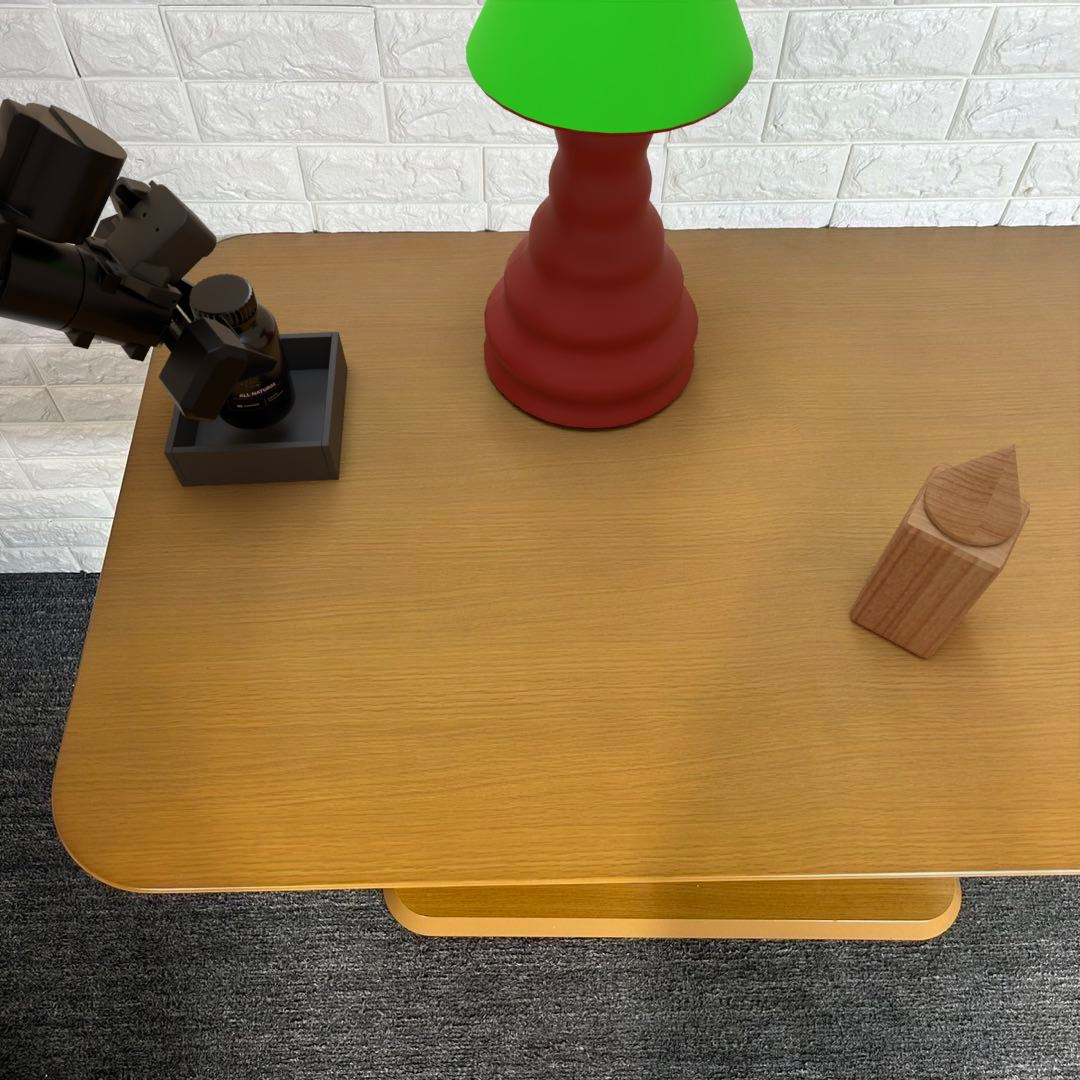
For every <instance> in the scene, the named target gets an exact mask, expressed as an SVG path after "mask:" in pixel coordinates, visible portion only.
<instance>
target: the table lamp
mask: <svg viewBox="0 0 1080 1080" xmlns="http://www.w3.org/2000/svg"><path fill="white" fill-rule="evenodd" d="M752 48H753V47H752V45H751V42H750V39H749V37H748V34H747V31H746V27H745V25H744V21H743V18H742V15H741V13H740V9H739V7H738V3H737V0H485V2H484V4H483V6H482V8H481V10H480V12H479V14H478V17H477V19H476V20H475V22H474V24H473V27H472V29H471V31H470V33H469V36H468V39H467V41H466V45H465V55H466V56H465V61H466V64H467V67H468V70H469V73H470V74H471V77H472V78H473V80H474V82H475V83H476V84H477V85H478V87H479V88H480V89H481V90H482V92H483V93H484V94H485V95H486V97H487V98H489V99H490V100H491V101H493V102H494V103H496V104H497V105H498V106H499V107H501V108H502V109H503V110H506V111H507V112H509V113H511V114H513V115H515V116H517V117H518V118H521V119H523V120H525V121H527V122H530V123H533V124H535V125H536V124H537V125H539V126H542V127H545V128H548V129H551V130H553V131H554V136H555V139H556V143H557V151H556V153H555V156H554V158H553V160H552V163H551V166H550V169H549V174H548V182H547V184H548V195H547V196H546V198H544V200H543V201H542V202H541V203H540V204H539V205H538V207H537V208H536V210H535V211H534V213H533V215H532V217H531V219H530V224H529V229H528V233H527V234H526V235H524V237H523V238H522V239H521V240H520V241H519V242H518V243H517V245H515V246H514V248H513V249H512V251H511V253H510V254H509V256H508V258H507V260H506V264H505V267H504V273H503V275H502V276H501V278H500V279H499V280H498V281H497V282H496V283H495V285H494V287H493V289H492V290H491V292H490V294H489V296H488V297H487V300H486V304H485V308H484V313H483V318H484V331H485V337H484V342H483V356H484V357H483V360H484V364H485V367H486V370H487V373H488V376H489V377H490V379H491V380H492V382H493V384H494V385H495V387H496V388H497V389H498V390H499V392H501V393H502V394H503V395H504V396H505V397H506V398H507V399H508V400H509V401H510V402H511V403H512V404H514V405H516V406H517V407H519V408H520V409H521V410H523V411H524V412H526V413H528V414H530V415H532V416H534V417H536V418H539V419H540V420H543V421H546V422H548V423H551V424H552V423H553V424H557V425H561V426H565V427H574V428H583V429H584V428H585V429H594V428H595V429H599V428H613V427H618V426H626V425H630V424H632V423H635V422H638V421H641V420H643V419H647V418H648V417H651V416H653V415H654V414H655V413H657V412H659V411H660V410H662V409H664V408H665V407H667V406H668V405H669V404H670V403H671V402H672V401H674V400H675V399H676V398H677V397H678V396H679V395H681V393H682V391H683V390H684V388H685V387H686V386H687V384H688V382H689V381H690V379H691V376H692V372H693V370H694V367H695V347H694V346H695V343H696V341H697V337H698V335H699V333H698V332H699V315H698V310H697V307H696V304H695V302H694V300H693V298H692V296H691V294H690V292H689V291H688V289H687V287H686V285H685V284H684V283H685V276H684V272H683V268H682V264H681V263H680V261H679V258H678V257H677V255H676V253H675V252H674V250H673V248H671V246H670V244H668V243H667V241H665V239H666V233H665V232H666V231H665V227H664V222H663V220H662V218H661V215H660V213H659V212H658V209H657V208H656V207H655V205H654V204H653V202H652V201H651V200H650V199H651V194H652V187H653V174H652V170H651V164H650V162H649V159H648V149H649V146H650V144H651V141H652V140H653V137H654V135H655V134H656V135H657V134H661V133H668V132H671V131H676V130H678V129H682V128H685V127H688V126H692V125H695V124H697V123H699V122H702V121H704V120H705V119H708V118H710V117H712V116H714V115H716V114H717V113H720V111H722V110H724V108H726V107H727V106H729V105H730V104H732V102H733V101H734V100H735V99H736V98H737V97H738V96H739V94H741V91H743V89H744V88H745V87H746V86H747V84H748V83H749V80H750V77H751V74H752V72H753V69H754V52H753V49H752Z"/></svg>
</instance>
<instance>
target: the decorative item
mask: <svg viewBox="0 0 1080 1080" xmlns="http://www.w3.org/2000/svg"><path fill="white" fill-rule="evenodd" d="M1016 451H1017V450H1016V443H1012V444H1010V445H1007V446H1004V447H1002V448H1000V449H997V450H994V451H991V452H989V453H985V454H983V455H981V456H978V457H976V458H975V457H974V458H973V459H970V460H967V461H965V462H963V463H960V464H956V465H954V466H953V465H951V464H949V463H947V462H940V463H938V464H937V465H936V466H934V467H933V468H932V469H931V471H930V472H929V474H928V476H927V478H926V479H925V480H924V483H923V484H922V486H921V487H920V489H919V490H918V492H917V494H916V496H915V497H914V499H913V501H912V503H911V504H910V506H909V507H908V509H907V510H906V513H905V515H904V516H903V518H902V519H901V521H900V523H899V524H898V526H897V528H896V529H895V531H894V533H893V534H892V536H891V538H890V539H889V542H888V543H887V545H886V546H885V548H884V550H883V552H882V553H881V555H880V556H879V558H878V560H877V562H876V564H875V565H874V567H873V569H872V571H871V572H870V574H869V576H868V577H867V579H866V581H865V583H864V585H863V587H862V588H861V590H860V591H859V593H858V595H857V597H856V599H855V600H854V602H853V604H852V606H851V608H850V611H849V612H850V613H849V615H850V618H851V620H852V621H854V622H855V623H856V624H859V625H860V626H862V627H864V628H866V629H868V630H870V631H872V632H874V633H875V634H877V635H879V636H881V637H883V638H885V639H887V640H888V641H891V642H892V643H894V644H896V645H898V646H900V647H902V648H903V649H905V650H907V651H910V652H911V653H913V654H915V655H917V656H919V657H920V658H925V659H927V658H930V657H931V656H933V655H935V653H936V651H938V649H939V648H940V647H941V645H942V644H943V643H944V642H945V641H946V640H947V638H948V637H949V636H950V634H951V633H952V632H953V631H954V630H955V629H956V627H957V626H958V625H959V623H960V622H961V621H962V620H963V619H964V617H965V616H966V615H967V614H968V613H969V612H970V610H971V609H972V608H973V607H974V605H976V603H977V602H978V601H979V599H980V598H981V597H982V596H983V595H984V594H985V592H986V591H987V590H988V588H989V587H990V586H991V585H992V583H993V582H994V581H995V580H996V579H997V577H998V576H999V575H1000V574H1001V573H1002V571H1003V570H1004V568H1005V567H1006V565H1007V563H1008V560H1009V558H1010V556H1011V554H1012V552H1013V550H1014V547H1015V545H1016V543H1017V541H1018V539H1019V536H1020V534H1021V532H1022V530H1023V528H1024V525H1025V524H1026V522H1027V519H1028V517H1029V516H1030V512H1031V511H1030V510H1031V507H1030V506H1031V503H1030V502H1029V501H1028V500H1026V499H1025V498H1023V497H1021V491H1020V483H1019V471H1018V461H1017V452H1016Z"/></svg>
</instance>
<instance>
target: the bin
mask: <svg viewBox="0 0 1080 1080" xmlns="http://www.w3.org/2000/svg"><path fill="white" fill-rule="evenodd" d="M279 334H280V337H281V341H282V344H283V348H284V351H285V355H286V359H287V362H288V366H289V369H290V373H291V376H292V380H293V384H294V388H295V393H296V399H295V403H294V406H293V408H292V410H291V411H290V413H289V414H288V415H287V416H286V417H285V418H284V419H283V420H282V421H280V422H279V423H277V424H275V425H273V426H270V427H267V428H264V429H259V430H243V429H239V428H235V427H233V426H231V425H229V424H227V423H226V422H225V421H224V420H223V419H222V418H221V417H220V416H219V414H218V416H217V418H216V420H214V421H209V422H207V421H201V420H195V419H189V418H185V416H184V415H183V414H182V412H181V411H180V410H179V408H178V407H177V406H176V404H175V403H174V406H173V410H172V415H171V419H170V423H169V424H170V425H169V427H168V434H167V438H166V441H165V447H164V452H163V455H164V456H165V458H166V459H167V462H168V463H169V465H170V467H171V469H172V471H173V472H174V475H175V476H176V478H177V480H178V482H179V483H180V485H181V487H202V486H203V487H204V486H221V485H223V486H225V485H244V484H264V483H265V484H266V483H286V482H287V483H288V482H290V483H291V482H310V481H329V480H339V478H340V467H341V466H340V465H341V457H342V455H341V454H342V443H343V441H342V440H343V430H344V429H343V428H344V419H345V418H344V417H345V416H344V415H345V406H346V405H345V404H346V403H345V402H346V393H347V392H346V391H347V389H346V388H347V378H348V364H347V360H346V359H347V358H346V355H345V351H344V347H343V344H342V340H341V335H340V332H339V331H328V332H327V331H321V332H299V333H298V332H297V333H295V332H294V333H279Z"/></svg>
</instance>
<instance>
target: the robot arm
mask: <svg viewBox="0 0 1080 1080" xmlns="http://www.w3.org/2000/svg"><path fill="white" fill-rule="evenodd" d="M127 159H128V152H127V151H126V150H125V148H124V147H123V146H121V144H119V143H118V142H117V141H116V140H115V139H113V138H112V137H111V136H109V135H108V134H107V133H105V132H104V131H102V130H101V129H99V128H98V127H96V126H94V125H93V124H92V123H89V122H88V121H86V120H85V119H83V118H81V117H80V116H78V115H75V114H74V113H71V112H69V111H67V110H66V109H64V108H61V107H59V106H56V105H54V104H50V106H48V105H43V104H42V103H36V102H27V103H26V104H22V103H20V102H18V101H16V100H13V99H12V98H7V97H6V98H4V99H2V101H1V104H0V318H3V319H6V320H7V319H8V320H11V321H16V322H20V323H23V324H24V323H25V324H29V325H31V326H37V327H42V328H44V329H45V328H46V329H50V330H53V331H57V332H62V333H64V335H65V336H66V337H67V339H68V341H69V342H70V343H71V345H72V346H73V347H75V348H80V349H84V350H89V348H90V347H91V344H92V342H93V340H96V341H101V342H104V343H109V344H112V345H113V344H114V345H118V346H120V347H121V348H122V349H123V351H124V353H125V354H126V355H127V356H128V358H129V359H130V360H134V361H139V362H143V363H144V362H145V359H146V357H147V356H148V353H149V352H150V349H151V348H159V349H161V348H162V347H163V345H164V346H165V347H166V349H168V350H169V352H170V353H169V355H168V358H167V359H166V361H165V364H164V366H163V367H162V369H161V371H160V373H159V375H158V379H159V381H160V383H161V386H162V387H163V390H164V391H165V393H166V394H167V396H169V398H170V399H171V400H172V402H173V403H174V405H175V404H176V406H177V407H178V408H179V410H180V411H181V412H182V414H183V415H184V416H185V418H189V419H195V420H201V421H207V422H209V421H214V420H216V418H217V416H218V414H219V413H220V411H221V409H222V407H223V405H224V404H225V402H226V400H227V398H228V396H229V395H230V393H231V391H232V389H233V387H234V386H235V384H236V383H238V382H241V381H244V380H247V379H250V378H253V377H256V376H259V375H262V374H265V373H268V372H271V371H272V370H273V369H274V367H275V366H276V364H277V359H276V358H275V357H273V356H271V355H269V354H267V353H265V352H263V351H261V350H259V349H257V348H254V347H252V346H250V345H248V344H245V343H243V342H241V341H240V339H239V336H238V335H237V333H236V332H235V331H234V330H233V329H232V327H231V326H230V325H229V324H228V323H227V321H226V320H225V319H224V318H223V317H222V316H221V315H220V317H219V318H218V320H217V321H215V320H212V319H208V318H205V317H202V318H199V319H197V320H195V321H193V319H194V318H193V315H192V310H191V307H190V304H189V296H190V295H189V293H190V292H191V289H192V288H193V287H194V285H196V284H195V283H194V282H192V281H191V280H189V279H187V278H186V277H185V276H186V275H187V274H188V273H190V271H191V270H192V269H193V268H194V267H195V266H196V265H197V264H198V263H200V261H201V260H202V259H203V258H207V257H209V256H210V255H211V254H212V253H213V251H214V250H215V248H216V247H217V243H218V239H217V236H216V235H215V234H214V232H212V230H211V229H210V228H209V227H208V226H207V225H206V223H204V222H203V220H202V219H200V217H199V216H198V215H197V214H196V213H195V212H194V211H193V210H192V209H191V208H190V207H189V206H188V205H186V204H185V203H184V202H183V201H182V200H181V199H180V198H179V197H178V196H177V195H176V194H175V193H174V192H172V191H171V189H170V188H168V187H167V186H166V185H164V184H163V183H159V184H158V183H157V182H155V181H154V180H153V179H151V180H150V181H149V182H148V184H147V183H146V182H144V181H140V180H136V179H134V178H129V177H126V176H120V174H121V172H122V170H123V167H124V166H125V163H126V162H127ZM109 198H110V201H111V203H112V206H113V208H114V211H115V214H112V215H109V216H108V217H104V218H102V219H100V218H101V216H102V213H103V211H104V209H105V207H106V204H107V202H108V201H109ZM96 226H97V227H96ZM192 321H193V322H192Z"/></svg>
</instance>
